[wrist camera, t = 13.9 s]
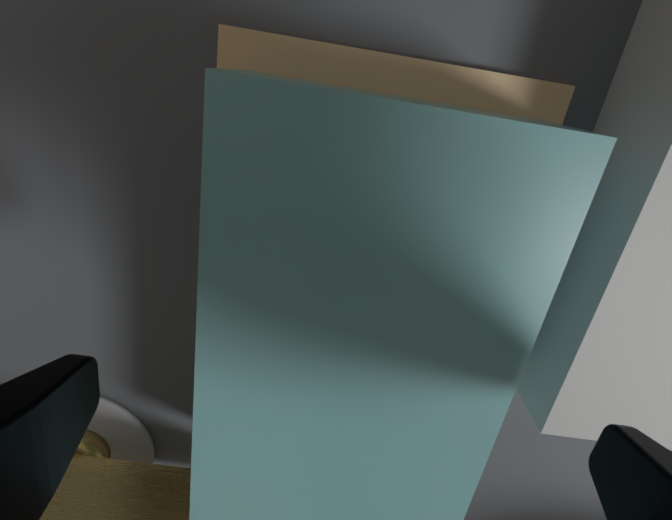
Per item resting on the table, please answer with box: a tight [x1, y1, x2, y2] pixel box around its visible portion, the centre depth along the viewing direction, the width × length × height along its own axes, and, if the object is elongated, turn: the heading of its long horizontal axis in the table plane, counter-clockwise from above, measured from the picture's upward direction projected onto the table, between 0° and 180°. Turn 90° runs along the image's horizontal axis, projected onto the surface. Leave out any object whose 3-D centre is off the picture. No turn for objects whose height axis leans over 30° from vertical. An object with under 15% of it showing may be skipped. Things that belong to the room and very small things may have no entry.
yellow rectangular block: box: [39, 429, 191, 520], centre depth 12 cm, size 2×9×4 cm, turn 81°
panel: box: [0, 0, 672, 520], centre depth 12 cm, size 20×22×4 cm
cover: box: [189, 68, 617, 520], centre depth 10 cm, size 10×7×3 cm, turn 171°
